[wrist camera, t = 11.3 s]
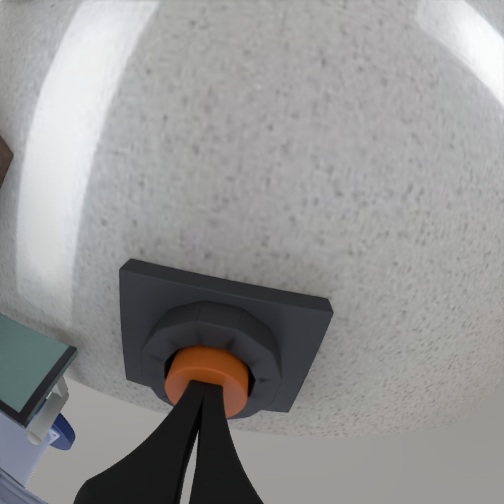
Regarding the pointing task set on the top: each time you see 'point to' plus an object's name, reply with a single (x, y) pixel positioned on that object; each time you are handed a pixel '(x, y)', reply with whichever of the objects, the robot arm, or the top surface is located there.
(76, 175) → the top surface
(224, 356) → the light button
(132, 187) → the top surface
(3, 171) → the cabinet
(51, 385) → the glass door
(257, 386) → the switch block
